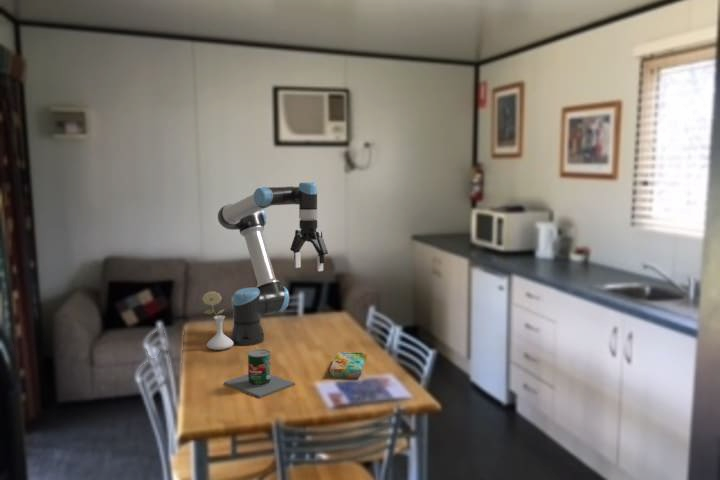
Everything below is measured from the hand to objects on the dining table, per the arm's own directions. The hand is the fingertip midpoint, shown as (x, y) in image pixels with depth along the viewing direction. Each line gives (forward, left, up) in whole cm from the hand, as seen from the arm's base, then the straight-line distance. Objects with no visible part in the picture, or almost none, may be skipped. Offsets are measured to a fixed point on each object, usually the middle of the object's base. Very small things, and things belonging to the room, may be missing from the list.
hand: (308, 269), depth 246 cm
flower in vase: (-31, -25, -35) cm, 53 cm away
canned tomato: (+17, -42, -34) cm, 57 cm away
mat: (+17, -42, -35) cm, 57 cm away
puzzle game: (+31, -9, -35) cm, 47 cm away
